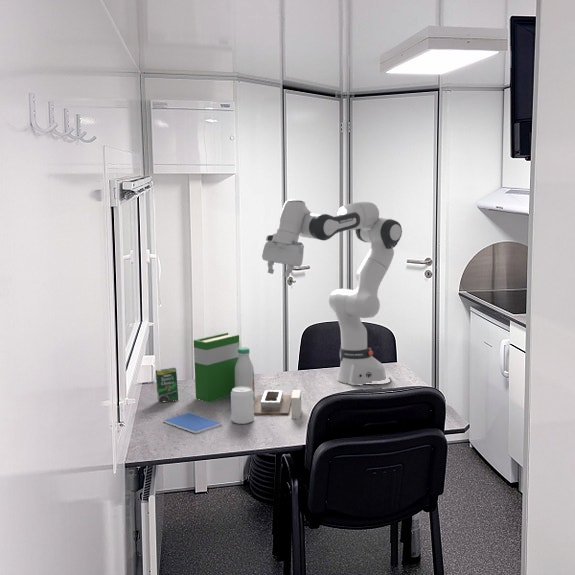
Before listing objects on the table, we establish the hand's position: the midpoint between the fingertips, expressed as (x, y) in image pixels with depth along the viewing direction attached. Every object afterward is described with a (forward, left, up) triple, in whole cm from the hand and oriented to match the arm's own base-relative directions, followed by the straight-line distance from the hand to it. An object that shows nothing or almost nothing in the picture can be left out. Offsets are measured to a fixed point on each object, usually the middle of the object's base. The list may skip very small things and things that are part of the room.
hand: (278, 275), depth 289 cm
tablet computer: (+29, +30, -50) cm, 66 cm away
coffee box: (+44, +4, -50) cm, 67 cm away
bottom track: (+2, +9, -50) cm, 50 cm away
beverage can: (+11, +27, -50) cm, 58 cm away
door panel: (-8, +19, -50) cm, 54 cm away
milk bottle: (+14, -2, -50) cm, 52 cm away
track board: (+2, +9, -50) cm, 50 cm away
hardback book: (+25, -4, -50) cm, 56 cm away
